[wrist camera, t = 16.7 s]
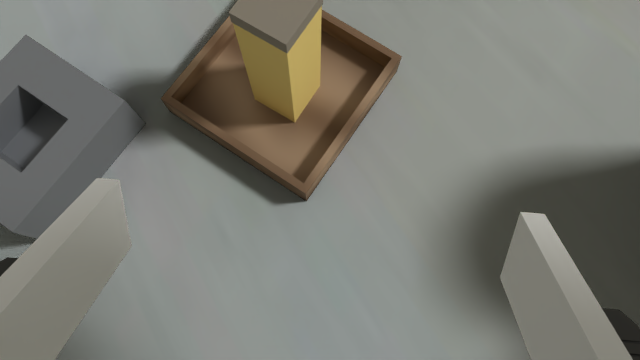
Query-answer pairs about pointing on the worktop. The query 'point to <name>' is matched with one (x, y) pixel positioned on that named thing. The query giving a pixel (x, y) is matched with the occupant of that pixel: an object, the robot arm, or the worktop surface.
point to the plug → (280, 51)
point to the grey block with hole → (53, 135)
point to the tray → (271, 127)
